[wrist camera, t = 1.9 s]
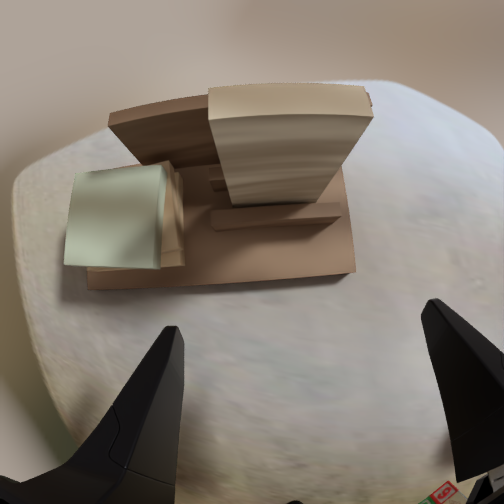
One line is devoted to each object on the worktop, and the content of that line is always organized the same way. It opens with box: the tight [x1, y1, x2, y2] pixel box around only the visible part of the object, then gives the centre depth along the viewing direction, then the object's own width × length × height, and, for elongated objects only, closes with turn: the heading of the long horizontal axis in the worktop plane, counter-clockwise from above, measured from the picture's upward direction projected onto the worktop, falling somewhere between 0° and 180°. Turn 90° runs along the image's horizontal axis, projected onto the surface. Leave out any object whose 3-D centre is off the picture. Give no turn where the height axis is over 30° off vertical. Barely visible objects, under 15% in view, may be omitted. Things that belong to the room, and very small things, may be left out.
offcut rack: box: [87, 92, 372, 290], centre depth 19 cm, size 10×22×10 cm, turn 94°
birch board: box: [208, 83, 374, 209], centre depth 16 cm, size 2×6×13 cm, turn 94°
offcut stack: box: [64, 160, 185, 272], centre depth 20 cm, size 8×8×4 cm
